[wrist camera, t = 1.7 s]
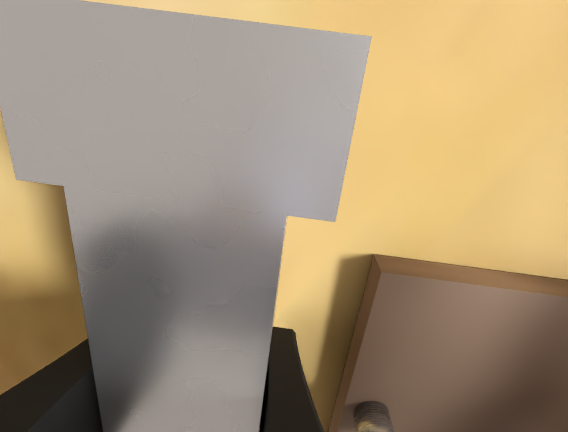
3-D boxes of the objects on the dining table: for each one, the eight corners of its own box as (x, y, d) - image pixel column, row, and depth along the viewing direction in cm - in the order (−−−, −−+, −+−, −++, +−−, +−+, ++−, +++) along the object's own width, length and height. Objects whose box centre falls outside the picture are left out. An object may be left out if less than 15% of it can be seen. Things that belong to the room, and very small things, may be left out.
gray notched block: (338, 63, 7) (371, 36, 4) (271, 466, 14) (259, 607, 10) (135, 38, 8) (-27, -13, 4) (159, 450, 14) (105, 584, 10)
